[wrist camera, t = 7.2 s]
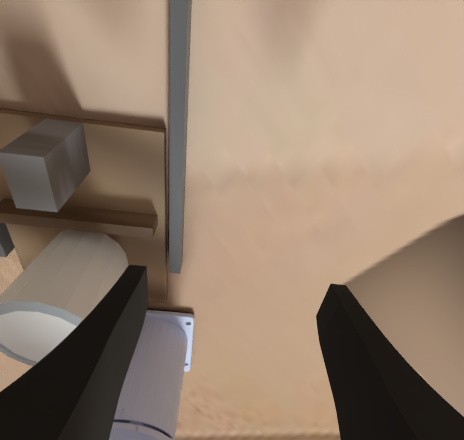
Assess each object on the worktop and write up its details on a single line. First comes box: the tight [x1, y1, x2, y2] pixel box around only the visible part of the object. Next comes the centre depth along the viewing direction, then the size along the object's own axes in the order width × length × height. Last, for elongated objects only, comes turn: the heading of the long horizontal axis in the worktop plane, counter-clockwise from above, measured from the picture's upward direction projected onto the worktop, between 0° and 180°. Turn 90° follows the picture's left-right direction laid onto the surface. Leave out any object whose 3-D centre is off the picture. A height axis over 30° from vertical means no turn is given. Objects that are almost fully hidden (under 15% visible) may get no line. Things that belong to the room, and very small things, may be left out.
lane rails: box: [0, 0, 192, 274], centre depth 18 cm, size 18×13×1 cm
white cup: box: [0, 230, 128, 366], centre depth 21 cm, size 7×7×7 cm
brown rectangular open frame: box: [0, 109, 167, 303], centre depth 20 cm, size 15×11×5 cm
